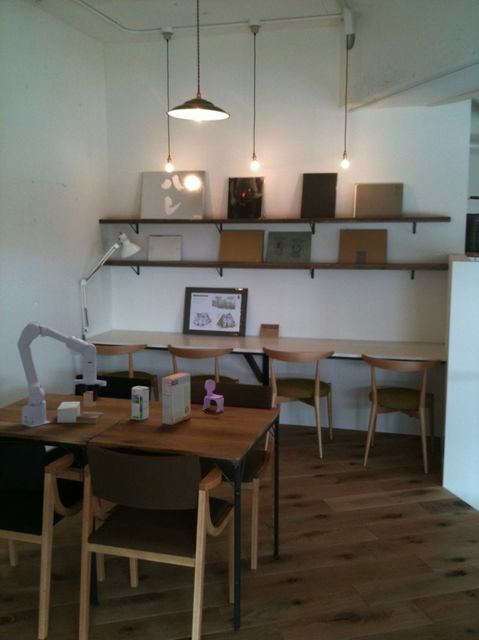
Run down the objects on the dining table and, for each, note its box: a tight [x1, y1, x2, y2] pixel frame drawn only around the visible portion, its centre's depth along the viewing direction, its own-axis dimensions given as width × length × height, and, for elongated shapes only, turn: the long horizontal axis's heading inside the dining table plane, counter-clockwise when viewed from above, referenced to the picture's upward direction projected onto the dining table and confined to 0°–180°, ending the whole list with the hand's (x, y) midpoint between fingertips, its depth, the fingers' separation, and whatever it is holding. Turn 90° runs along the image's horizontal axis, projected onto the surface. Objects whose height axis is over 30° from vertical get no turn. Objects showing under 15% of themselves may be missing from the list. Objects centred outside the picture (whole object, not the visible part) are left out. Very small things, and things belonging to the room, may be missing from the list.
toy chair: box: [201, 379, 225, 413], centre depth 271 cm, size 8×9×15 cm
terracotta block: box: [82, 390, 97, 408], centre depth 251 cm, size 4×4×6 cm
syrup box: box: [131, 385, 150, 421], centre depth 256 cm, size 6×6×14 cm
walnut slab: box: [76, 411, 105, 425], centre depth 252 cm, size 9×9×3 cm
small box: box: [56, 401, 81, 424], centre depth 254 cm, size 8×6×13 cm
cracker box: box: [161, 372, 191, 426], centre depth 253 cm, size 14×6×21 cm, turn 149°
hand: (90, 401), depth 251 cm, fingers closed on terracotta block, 4 cm apart
